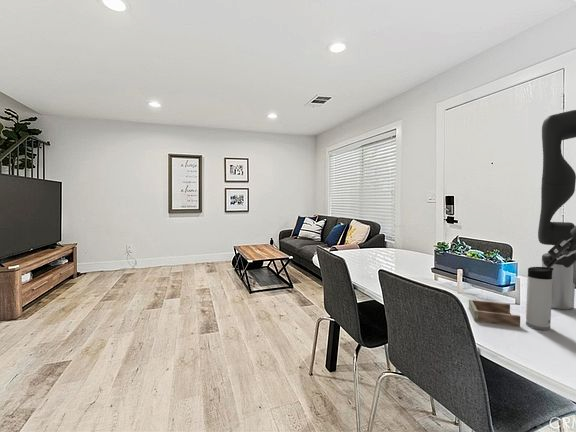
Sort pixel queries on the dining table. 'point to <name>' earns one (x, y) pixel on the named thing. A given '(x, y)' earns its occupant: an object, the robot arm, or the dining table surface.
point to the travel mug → (539, 297)
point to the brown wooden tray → (493, 313)
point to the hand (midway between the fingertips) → (555, 265)
